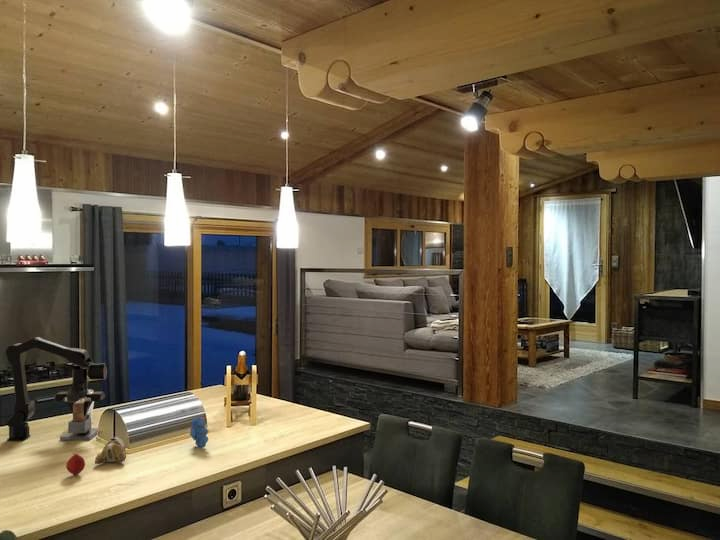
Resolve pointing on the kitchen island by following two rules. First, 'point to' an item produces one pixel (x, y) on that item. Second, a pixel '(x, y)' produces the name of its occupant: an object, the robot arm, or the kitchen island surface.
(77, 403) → the brown rectangular block
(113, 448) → the ceramic sculpture
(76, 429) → the bracket
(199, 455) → the kitchen island surface
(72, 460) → the onion
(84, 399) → the beer glass
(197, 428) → the grapes
